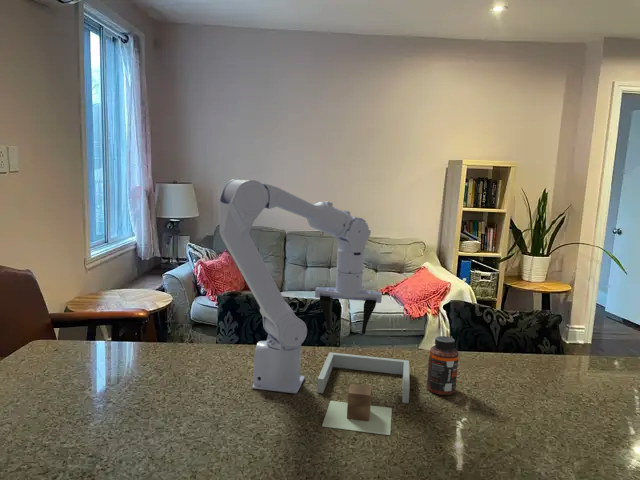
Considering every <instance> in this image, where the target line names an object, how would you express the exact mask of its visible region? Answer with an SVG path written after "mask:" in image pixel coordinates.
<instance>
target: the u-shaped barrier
mask: <svg viewBox="0 0 640 480" xmlns="http://www.w3.org/2000/svg"><path fill="white" fill-rule="evenodd" d="M333 368H339V369H346V370H347V369H349V370H357V371H365V372H374V373H376V372H377V373H384V374H392V375H393V374H394V375H402V403H403V404H409V401H410V388H411V387H410V360H407V359H397V358H389V357H378V356H377V357H376V356H368V355H361V354H360V355H359V354H349V353H342V352H341V353H340V352H330V351H329V352H328V354H327V357H326V359H325V361H324V363H323V366H322V368H321V371H320V372H319V374H318V375H319V376H318V377H317V387H316V388H317V389H316V392H317V393H319V394H323V393H324V392H325V388H326V386H327V383H328V382H329V379H330V376H331V374H332V371H333Z"/></svg>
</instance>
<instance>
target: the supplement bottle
mask: <svg viewBox="0 0 640 480" xmlns="http://www.w3.org/2000/svg"><path fill="white" fill-rule="evenodd" d="M455 346H456V340H455V339H454V338H452V337H451V336H447V335H446V336H445V335H438V336H436V337H435V338H434V345H432V346H431V347H430V349H429V352H428V364H427V365H428V366H427V379H426V388H427V390H428V391H430V392H431V393H433V394H436V395H440V396H450V395H452V394H454V393H455V392H456V389H457V380H458V379H457V377H458V364H459V351H458V350H457V349H456V348H455Z"/></svg>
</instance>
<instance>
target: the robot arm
mask: <svg viewBox="0 0 640 480" xmlns="http://www.w3.org/2000/svg"><path fill="white" fill-rule="evenodd" d="M218 202H219V209H220V210H219V226H218V227H219V231H218V232H219V235H220V237H221V240H222V241H223V243H224V245H225V246H226V249H227V250H228V252H229V254H230V256H231V257H232V259H233V261H234V263H235V265H236V267H238V270H239V272H240V274H241V276H242V277H243V279H244V280H245V282H246V284H247V286H248V288H249V290H250V291H251V293H252V295H253V297H254V300H256V303H257V304H258V307H259V312H260V314H261V316H262V325H263V326H262V327H263V329H264V331H265V332H266V333H267V337H266V340H260V341H257V343H256V346H255V350H254V355H253V356H254V357H253V378H252V379H253V381H252V382H253V384H252V389H253V390H263V391H273V392H281V393H288V394H298V392H299V391H300V388H301V387H302V385H303V383H304V380H305V375H301V362H302V361H301V358H302V356H301V355H302V354H301V353H302V344H303V343H304V341H305V340H306V338H307V334H308V328H307V324H306V323H305V321H303V320H302V319H301V318H300V317H298V316H296V314H295V311H294V310H293V309H292V308H291V307H290V305H289V304H288V302H286V300H285V299H284V297H283V295H282V294H281V293H282V292H281V291H280V290H279V288H278V285H277V284H276V282H275V280H274V278H273V277H272V275H271V272H270V270H269V269H268V267H267V265H266V263H265V261H264V260H263V258H262V256H261V254H260V251H259V250H258V248H257V246H256V244H255V243H254V241H253V239H252V237H251V235H250V232H251V229H252V226H253V224H254V222H255V221H256V219H257V218H258V216H260V215H261V213H262V212H263V211H264V209H268V210H272V209H273V208H274V209H275V208H276V207H277V208H279V209H282V210H284V211H286V212H289V213H292V214H294V215H297V216H300V217H302V218H305V219H306V220H307V222H308V226H310V228H313V229H315V230H317V231H320V232H322V233H324V234H327V235H329V236H331V237H334V238H335V239H336V240H337V253H336V255H337V256H336V275H335V276H336V277H335V287H332V286H331V287H321V286H319V287H318V286H316V288H315V290H314V297H315V298H318V299H319V301H318V303H319V306H320V308H321V310H322V313H323V315H324V319H325V322H326V330H327V331H328V332H331V330H332V327H333V326H332V325H333V303H334V299H336V300H337V299H341V300H349V301H362V302H364V303H363V317H362V319H363V320H362V328H361V335H366V331H367V326H368V323H369V320H370V318H371V316H372V313H374V310H375V308H376V306H377V304H381V303H382V297H383V296H382V295H383V292H380V291H372V290H367V289H362V288H363V273H364V272H363V271H364V270H363V269H364V257H365V256H364V252H365V250H366V243H367V241H369V239H370V236H371V231H372V230H370V229H369V228H370V227H369V225H368V223H367V221H366V220H365V219H364V218H362V217H357V216H352V215H351V211H348V210H346V209H345V210H341V209H339V208H337V207H335V206H333V205H334V203H333V202H331V201H330V200H329V201H327V200H325V201H324V202H323V201H318V202H316V203H313V204H312V203H310V202H308V201H307V200H305V199H302V198H301V197H299V196H296V195H295V194H293V193H290V192H288V191H286V190H285V189H282V188H280V187H278V186H275V185H271V184H268V183H262V182H261V181H259V180H256V179H248V180H247V179H243V178H234V179H231V180H229V181H227V183H226V184H224V186H223V188H222V190H221V193H220V195H219V198H218Z"/></svg>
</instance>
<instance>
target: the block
mask: <svg viewBox="0 0 640 480" xmlns="http://www.w3.org/2000/svg"><path fill="white" fill-rule="evenodd" d="M372 390H373V386H372V385H365V384H358V383H357V384H356V383H350V385H349V389H348V392H347V393H348V395H347V403H348V406H347V419H353V420H361V421H368V422H369V416H370V409H371V406H372V405H371V404H372V394H373V393H372Z"/></svg>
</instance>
